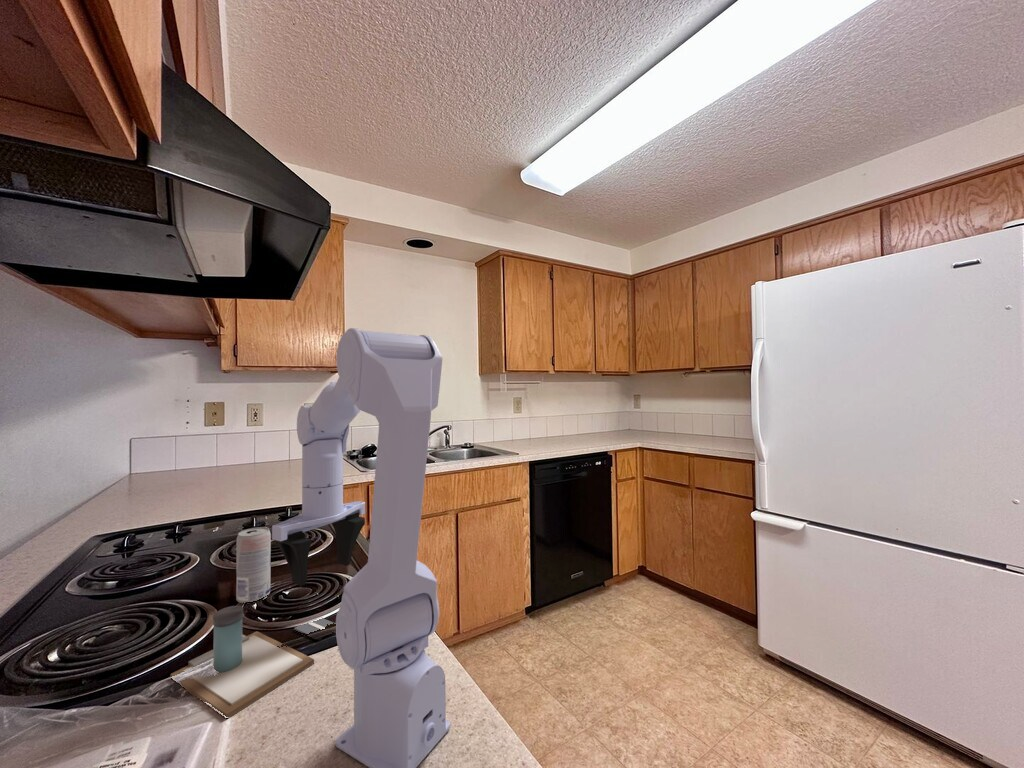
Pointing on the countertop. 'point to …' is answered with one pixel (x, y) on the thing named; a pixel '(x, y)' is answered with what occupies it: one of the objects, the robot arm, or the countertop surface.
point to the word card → (313, 626)
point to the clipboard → (246, 674)
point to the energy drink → (253, 564)
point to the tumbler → (227, 638)
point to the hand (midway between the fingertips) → (322, 573)
